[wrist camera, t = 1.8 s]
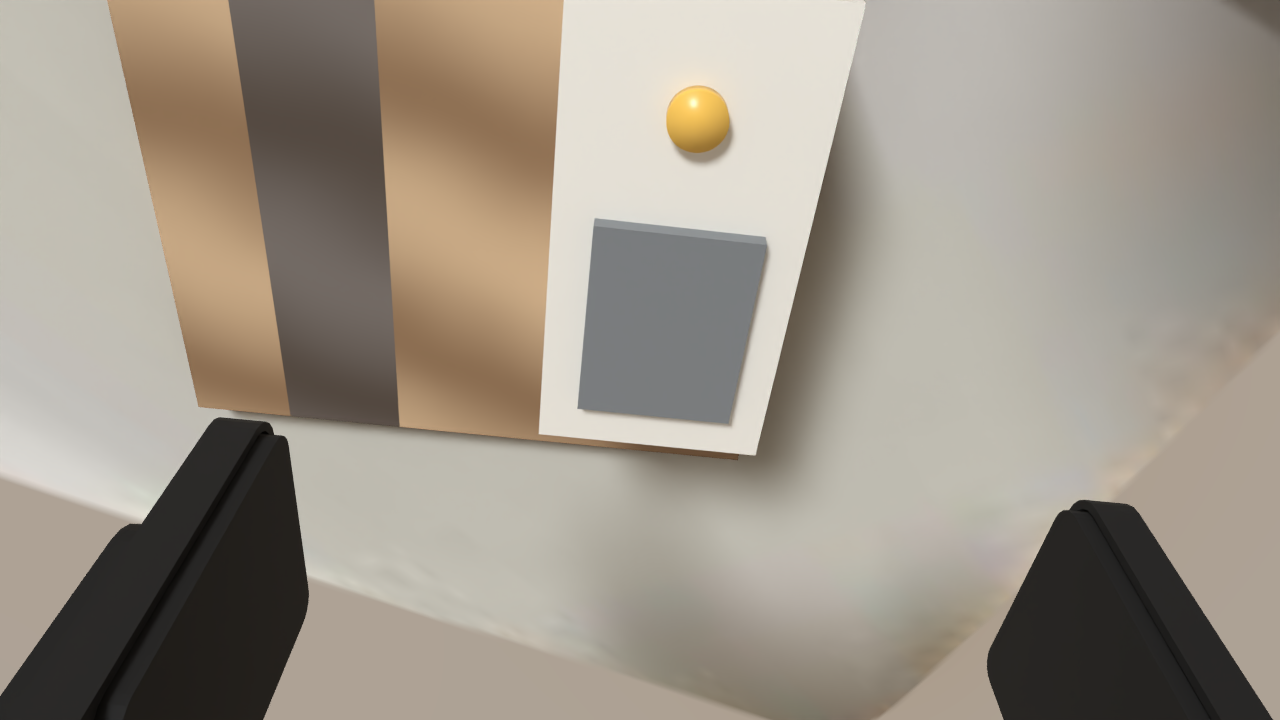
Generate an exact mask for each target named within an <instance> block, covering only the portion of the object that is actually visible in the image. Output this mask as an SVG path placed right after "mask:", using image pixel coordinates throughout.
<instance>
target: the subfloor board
mask: <svg viewBox="0 0 1280 720" xmlns="http://www.w3.org/2000/svg"><path fill="white" fill-rule="evenodd" d="M107 1H108V6H109V10H110V15H111V19H112V23H113V28H114V32H115V37H116V41H117V46H118V50H119V55H120V59H121V63H122V68H123V72H124V77H125V81H126V86H127V90H128V95H129V99H130V104H131V108H132V112H133V117H134V121H135V126H136V130H137V135H138V139H139V144H140V148H141V152H142V157H143V161H144V166H145V170H146V175H147V179H148V184H149V188H150V192H151V197H152V201H153V206H154V210H155V215H156V219H157V224H158V228H159V233H160V237H161V241H162V246H163V250H164V255H165V259H166V264H167V268H168V273H169V277H170V281H171V286H172V290H173V295H174V299H175V304H176V308H177V313H178V317H179V321H180V326H181V330H182V335H183V339H184V344H185V348H186V353H187V357H188V362H189V366H190V370H191V375H192V379H193V384H194V388H195V393H196V397H197V402H198V406H199V407H205V408H215V409H225V410H235V411H245V412H256V413H266V414H276V415H286V416H296V417H306V418H316V419H327V420H337V421H347V422H357V423H367V424H377V425H387V426H398V427H408V428H418V429H428V430H438V431H448V432H459V433H469V434H479V435H489V436H499V437H509V438H519V439H530V440H540V441H550V442H560V443H570V444H580V445H590V446H601V447H611V448H621V449H631V450H641V451H651V452H661V453H672V454H682V455H692V456H702V457H712V458H722V459H732V460H738V456H739V454H735V453H725V452H715V451H705V450H695V449H684V448H674V447H664V446H654V445H644V444H634V443H624V442H614V441H604V440H593V439H583V438H573V437H563V436H553V435H543V434H539V420H540V403H541V385H542V368H543V351H544V333H545V316H546V299H547V281H548V264H549V247H550V229H551V212H552V195H553V177H554V160H555V143H556V125H557V108H558V91H559V73H560V56H561V39H562V21H563V4H564V0H107Z"/></svg>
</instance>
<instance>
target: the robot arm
mask: <svg viewBox="0 0 1280 720" xmlns="http://www.w3.org/2000/svg"><path fill="white" fill-rule="evenodd" d="M308 598H309V590H308V582H307V575H306V568H305V561H304V553H303V546H302V539H301V532H300V525H299V517H298V510H297V503H296V496H295V488H294V481H293V474H292V467H291V460H290V452H289V445H288V441H287V439H286V437H284V436H279V435H274V432H273V428H272V427H271V425H270V423H267V422H263V421H252V420H242V419H231V418H221V417H219V418H217V419H214V420H213V421H212V423H211V424H210V425H209V426H208V428H207V429H206V430H205V432H204V433H203V435H202V436H201V438H200V439H199V441H198V442H197V444H196V445H195V447H194V448H193V450H192V451H191V452H190V454H189V455H188V457H187V458H186V460H185V461H184V463H183V464H182V466H181V467H180V469H179V470H178V471H177V473H176V474H175V476H174V477H173V479H172V480H171V482H170V483H169V485H168V486H167V488H166V489H165V491H164V492H163V493H162V495H161V496H160V498H159V499H158V501H157V502H156V504H155V505H154V507H153V508H152V510H151V511H150V513H149V514H148V515H147V517H146V518H145V520H144V521H143V523H142V524H129V525H127V526H125V527H124V528H122V529H120V530H119V532H118V533H117V534H116V535H115V536H114V537H113V538H112V539H111V541H110V542H109V543H108V545H107V546H106V548H105V549H104V551H103V552H102V553H101V555H100V556H99V558H98V559H97V560H96V562H95V563H94V565H93V566H92V568H91V569H90V570H89V572H88V573H87V574H86V576H85V577H84V579H83V580H82V581H81V583H80V584H79V586H78V587H77V589H76V590H75V591H74V593H73V594H72V596H71V597H70V598H69V600H68V601H67V603H66V604H65V605H64V607H63V608H62V610H61V611H60V613H59V614H58V615H57V617H56V618H55V620H54V621H53V622H52V624H51V625H50V627H49V628H48V630H47V631H46V632H45V634H44V635H43V637H42V638H41V639H40V641H39V642H38V644H37V645H36V646H35V648H34V649H33V651H32V652H31V654H30V655H29V656H28V658H27V659H26V661H25V662H24V663H23V665H22V666H21V668H20V669H19V670H18V672H17V673H16V675H15V676H14V678H13V679H12V680H11V682H10V683H9V685H8V686H7V688H6V689H5V690H4V692H3V693H2V694H1V696H0V720H263V718H264V716H265V714H266V711H267V709H268V707H269V704H270V702H271V699H272V697H273V694H274V692H275V690H276V687H277V685H278V682H279V680H280V677H281V675H282V673H283V670H284V668H285V665H286V663H287V660H288V658H289V656H290V653H291V651H292V649H293V646H294V644H295V641H296V639H297V637H298V634H299V632H300V629H301V627H302V624H303V622H304V619H305V615H306V612H307V606H308ZM987 670H988V677H989V680H990V683H991V686H992V689H993V691H994V694H995V697H996V700H997V702H998V705H999V708H1000V711H1001V714H1002V716H1003V719H1004V720H1273V719H1272V718H1271V716H1270V715H1269V713H1268V711H1267V710H1266V708H1265V707H1264V705H1263V704H1262V702H1261V701H1260V699H1259V698H1258V696H1257V695H1256V693H1255V691H1254V690H1253V689H1252V687H1251V685H1250V684H1249V682H1248V681H1247V679H1246V678H1245V676H1244V674H1243V673H1242V671H1241V670H1240V668H1239V667H1238V665H1237V664H1236V662H1235V661H1234V659H1233V658H1232V656H1231V655H1230V653H1229V651H1228V650H1227V648H1226V647H1225V645H1224V644H1223V642H1222V641H1221V639H1220V638H1219V636H1218V634H1217V633H1216V631H1215V630H1214V628H1213V627H1212V625H1211V624H1210V622H1209V621H1208V619H1207V617H1206V616H1205V614H1204V613H1203V611H1202V610H1201V608H1200V607H1199V605H1198V604H1197V602H1196V601H1195V599H1194V597H1193V596H1192V594H1191V593H1190V591H1189V590H1188V589H1187V587H1186V585H1185V584H1184V582H1183V580H1182V579H1181V578H1180V576H1179V574H1178V573H1177V571H1176V570H1175V568H1174V567H1173V565H1172V564H1171V562H1170V561H1169V559H1168V558H1167V556H1166V554H1165V553H1164V551H1163V550H1162V548H1161V547H1160V545H1159V544H1158V542H1157V540H1156V539H1155V537H1154V536H1153V534H1152V533H1151V531H1150V530H1149V528H1148V527H1147V525H1146V523H1145V522H1144V521H1143V519H1142V517H1141V516H1140V514H1139V513H1138V512H1137V511H1136V509H1135V508H1134V507H1132V506H1130V505H1128V504H1121V503H1111V502H1100V501H1090V500H1079V501H1077V502H1076V503H1074V504H1073V506H1072V507H1071V508H1070V510H1063V511H1062V512H1060V513H1059V514H1058V515H1057V517H1056V518H1055V520H1054V522H1053V524H1052V526H1051V528H1050V530H1049V532H1048V534H1047V536H1046V538H1045V540H1044V542H1043V544H1042V546H1041V548H1040V550H1039V552H1038V554H1037V556H1036V558H1035V560H1034V562H1033V564H1032V566H1031V568H1030V570H1029V572H1028V574H1027V576H1026V578H1025V580H1024V582H1023V584H1022V586H1021V588H1020V590H1019V592H1018V594H1017V596H1016V598H1015V600H1014V602H1013V604H1012V606H1011V608H1010V610H1009V612H1008V614H1007V616H1006V618H1005V620H1004V622H1003V624H1002V626H1001V628H1000V630H999V632H998V634H997V636H996V638H995V640H994V642H993V644H992V646H991V648H990V650H989V653H988V659H987Z"/></svg>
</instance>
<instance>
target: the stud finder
mask: <svg viewBox="0 0 1280 720" xmlns="http://www.w3.org/2000/svg"><path fill="white" fill-rule="evenodd" d="M865 7H866V3H865V2H864V0H564V4H563V21H562V39H561V56H560V73H559V91H558V108H557V125H556V143H555V160H554V177H553V195H552V212H551V229H550V247H549V264H548V281H547V299H546V316H545V333H544V351H543V368H542V385H541V403H540V420H539V434H543V435H553V436H563V437H573V438H583V439H593V440H604V441H614V442H624V443H634V444H644V445H654V446H664V447H674V448H684V449H695V450H705V451H715V452H725V453H735V454H745V455H756V451H757V447H758V443H759V439H760V435H761V431H762V427H763V422H764V418H765V414H766V410H767V406H768V402H769V398H770V394H771V390H772V386H773V382H774V378H775V374H776V369H777V365H778V361H779V357H780V353H781V349H782V345H783V341H784V337H785V333H786V329H787V325H788V321H789V316H790V312H791V308H792V304H793V300H794V296H795V292H796V288H797V284H798V280H799V276H800V272H801V268H802V264H803V259H804V255H805V251H806V247H807V243H808V239H809V235H810V231H811V227H812V223H813V219H814V215H815V211H816V206H817V202H818V198H819V194H820V190H821V186H822V182H823V178H824V174H825V170H826V166H827V162H828V158H829V154H830V149H831V145H832V141H833V137H834V133H835V129H836V125H837V121H838V117H839V113H840V109H841V105H842V101H843V96H844V92H845V88H846V84H847V80H848V76H849V72H850V68H851V64H852V60H853V56H854V52H855V48H856V44H857V39H858V35H859V31H860V27H861V23H862V19H863V15H864V11H865Z"/></svg>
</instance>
